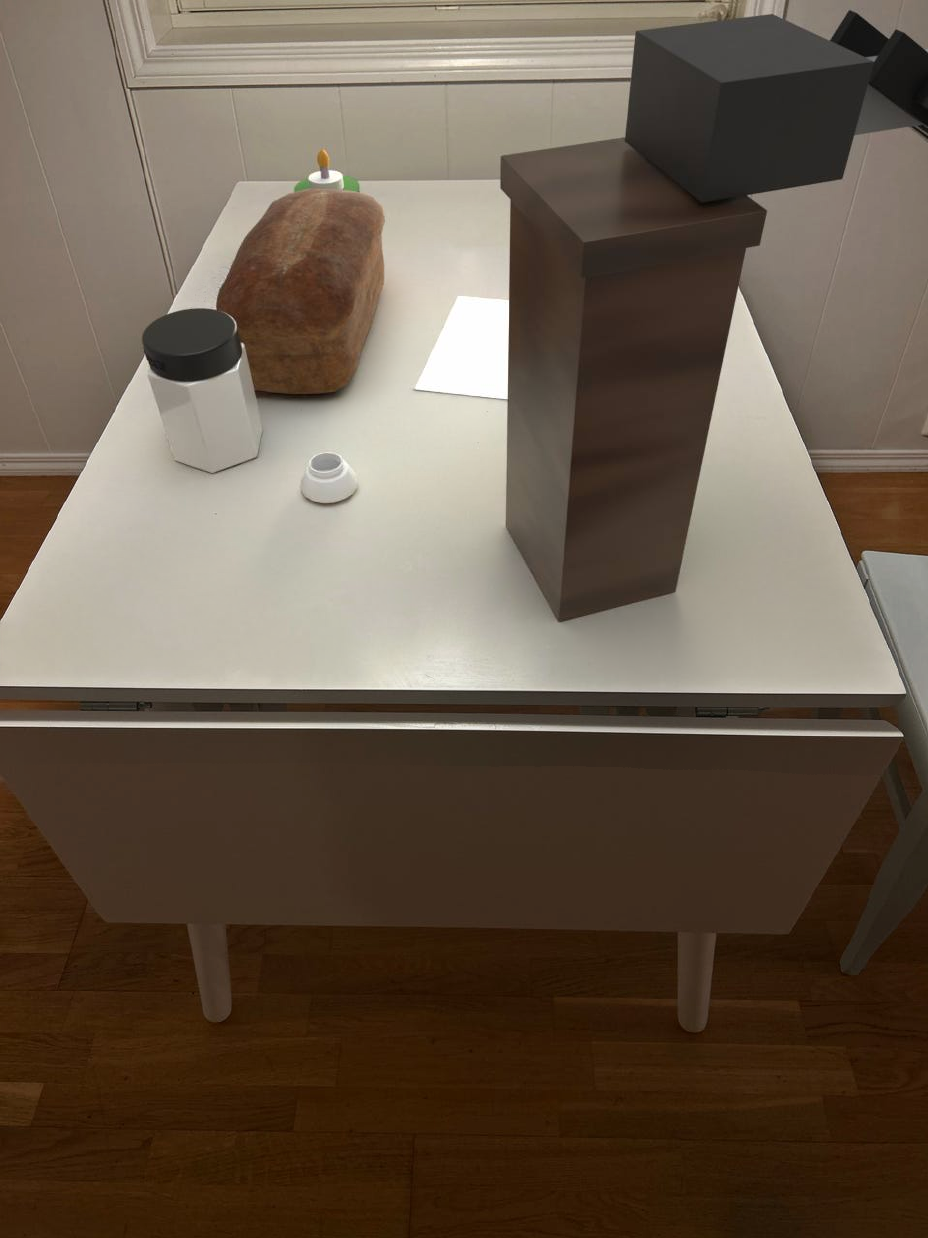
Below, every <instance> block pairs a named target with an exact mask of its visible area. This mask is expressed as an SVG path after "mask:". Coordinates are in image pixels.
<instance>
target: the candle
mask: <svg viewBox="0 0 928 1238" xmlns="http://www.w3.org/2000/svg"><path fill="white" fill-rule="evenodd" d="M316 158H317V164H318V167H319V171H315V172H312V173H311V174H309V176H308V178H305V179H303V180H301V181H299V182H298V183H296V185H294V187H293V192H297V191H301V190H305V189H338V190H348V191H354V192H360V193H361V188H360V187H361V186H360V182H359V181H358V180H356V179H355V178H354V177H350V176H347V175H343V174H342V172H340V171H337V170H331V169H330V167H329V166H330V157H329V155H328V153H327V151H326V150H325V149H320V150H318V153H317V157H316Z"/></svg>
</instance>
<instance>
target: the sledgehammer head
mask: <svg viewBox="0 0 928 1238" xmlns="http://www.w3.org/2000/svg"><path fill="white" fill-rule="evenodd" d="M633 42H634V43H633V51H632V52H633V53H632V63H631V72H630V73H631V74H630V81H629V82H630V83H629V93H628V101H627V102H628V103H627V104H628V105H627V112H626V124H625V132H624V137H625V142H626V143H627V144H629V145H630V146H631V147H632V148H634V149H635V150H636V151H637V152H639V153H640V154H641V155H642V156H644V157H645V158H646V159H647V160H649V161H650V162H651V163H652V164H654V165H655V166H656V167H657V168H659V169H660V170H661V171H662V172H664V173H665V174H666V175H667V176H669V177H670V178H671V179H672V180H674V181H675V182H676V183H677V184H679V185H680V186H681V187H682V188H684V189H685V190H686V191H688V192H689V193H690V194H691V195H693V196H694V197H695V198H696V199H698V200H699V201H700V202H701V203H704V202H710V201H716V200H722V199H728V198H734V197H740V196H746V195H747V196H750V195H758V194H763V193H768V192H776V191H781V190H782V191H783V190H787V189H792V188H793V189H794V188H798V187H805V186H812V185H816V184H823V183H829V182H835V181H840V180H843V178H844V175H845V171H846V169H847V164H848V160H849V156H850V153H851V149H852V145H853V141H854V137H855V136H860V135H866V134H871V133H878V132H884V131H891V130H897V129H898V130H899V129H903V128H909V127H910V126H917V125H922V124H921V123H920V122H918V121H917V120H916V119H914V118H913V117H912V116H910V115H909V114H908V113H906V112H905V111H904V110H902V109H901V108H900V107H898V106H897V105H896V104H894V103H893V102H892V101H890V100H889V99H888V98H886V97H885V96H884V95H882V94H881V93H880V92H878V91H877V90H876V89H874V88H873V87H872V86H870V85H869V84H868V82H869V78H870V75H871V71H872V67H873V64H874V61H875V60H876V58H877V57H878V56H872V57H863V56H861V55H859V54H857V53H855V52H853V51H851V50H848V49H846V48H844V47H842V46H840V45H838V44H836V43H833V42H831V41H830V40H829V39H827V38H825V37H822V36H820V35H819V34H816V33H814V32H812V31H810V30H808V29H805V28H803V27H801V26H799V25H797V24H795V23H793V22H791V21H789V20H786V19H784V18H782V17H779V16H778V15H775V14H774V13H769V14H760V15H753V16H745V17H738V18H728V19H722V20H713V21H704V22H696V23H687V24H680V25H672V26H664V27H655V28H648V29H641V30H636V31H635V33H634V41H633ZM924 49H925V50H926V51H927V52H928V48H924Z"/></svg>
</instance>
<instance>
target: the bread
mask: <svg viewBox="0 0 928 1238" xmlns="http://www.w3.org/2000/svg"><path fill="white" fill-rule="evenodd" d="M385 217H386V216H385V212H384V209H383V205H382V204H380V203H379V202H378V201H377V200H376V199H375V197H373V196H371V195H368V194H365V193H363V192H361V191H360V192H354V191H348V190H338V189H305V190H301V191H297V192H294V191H293V192H289V193H287V194H285V195H284V196H281V197H280V198H277V199H276V200H273V201H272V202H271V203H270V205H269V206H268V207H267V209H266V211H264V214H263V215H262V217H261V218H260V219H259V220H258V222H256V224H255V225H254V226H253V227H252V228H251V229H250V231H248V233H247V234H246V235H245V236H244V238H243V240H242V242H241V244H240V246H239V248H238V250H237V252H236V254H235V257H234V259H233V262H232V264H231V266H230V268H229V271H228V273H227V275H226V277H225V279H224V280H223V282H222V284H221V286H220V287H219V289H218V290H219V291H218V293H217V296H216V303H215V310H219V311H222V312H224V313H227V314H228V315H230V316H231V317H232V318H233V319H234V320H235V322H236V324H237V328H238V332H239V337H240V341H241V343H243V344H244V345H245V350H246V354H247V359H248V363H249V368H250V372H251V377H252V382H253V386H254V391H260V392H266V393H271V394H272V393H273V394H283V395H284V394H286V395H314V394H315V395H317V394H318V395H319V394H327V393H328V394H329V393H335V392H337V391H338V390H339V389H341V388H342V387H344V386H345V385H347V384H348V383H349V382H350V380H351V378H352V377H353V375H354V374H355V372H356V371H357V368H358V365H359V360H360V356H361V352H362V349H363V347H364V344H365V341H366V339H367V336H368V334H369V331H370V328H371V325H372V324H373V323H372V322H373V319H374V316H375V313H376V310H377V306H378V303H379V298H380V296H381V293H382V290H383V287H384V284H385V260H384V251H383V250H384V249H383V234H382V233H383V230H384V225H385V222H386V218H385Z"/></svg>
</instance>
